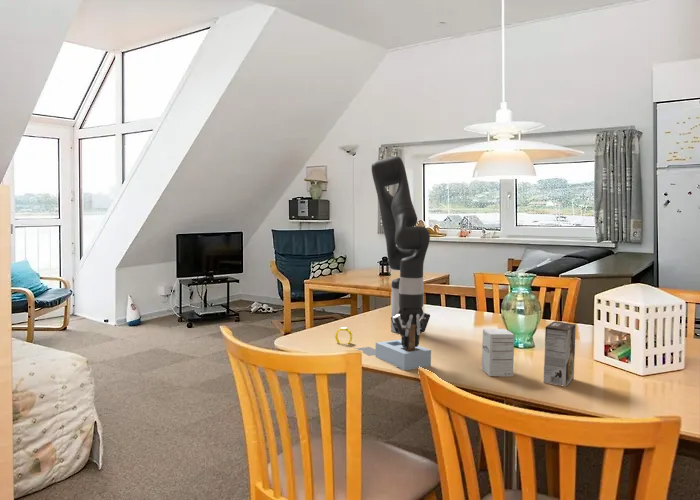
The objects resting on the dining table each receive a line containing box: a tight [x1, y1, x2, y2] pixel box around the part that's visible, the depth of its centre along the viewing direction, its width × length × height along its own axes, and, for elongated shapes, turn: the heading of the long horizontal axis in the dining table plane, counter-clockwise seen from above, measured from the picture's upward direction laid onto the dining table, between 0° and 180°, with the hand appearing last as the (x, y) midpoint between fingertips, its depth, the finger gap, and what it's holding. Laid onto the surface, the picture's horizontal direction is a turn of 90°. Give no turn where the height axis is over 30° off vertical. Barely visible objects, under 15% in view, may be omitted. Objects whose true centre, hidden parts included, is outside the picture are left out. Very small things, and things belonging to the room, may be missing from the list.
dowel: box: [405, 324, 416, 352], centre depth 176 cm, size 3×3×10 cm
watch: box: [334, 326, 353, 345], centre depth 202 cm, size 6×3×6 cm, turn 71°
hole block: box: [374, 338, 432, 371], centre depth 180 cm, size 10×16×5 cm, turn 30°
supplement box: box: [481, 328, 515, 377], centre depth 168 cm, size 7×7×13 cm
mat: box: [355, 346, 376, 357], centre depth 191 cm, size 6×10×1 cm, turn 30°
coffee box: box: [543, 321, 577, 387], centre depth 161 cm, size 9×6×16 cm
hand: (410, 346), depth 176 cm, fingers closed on dowel, 3 cm apart
